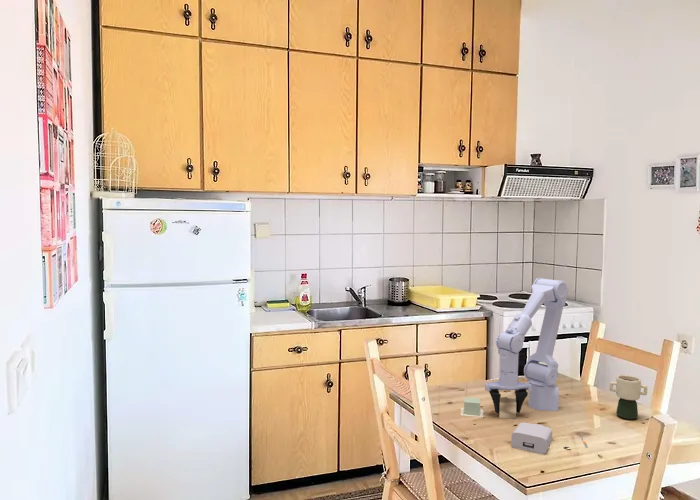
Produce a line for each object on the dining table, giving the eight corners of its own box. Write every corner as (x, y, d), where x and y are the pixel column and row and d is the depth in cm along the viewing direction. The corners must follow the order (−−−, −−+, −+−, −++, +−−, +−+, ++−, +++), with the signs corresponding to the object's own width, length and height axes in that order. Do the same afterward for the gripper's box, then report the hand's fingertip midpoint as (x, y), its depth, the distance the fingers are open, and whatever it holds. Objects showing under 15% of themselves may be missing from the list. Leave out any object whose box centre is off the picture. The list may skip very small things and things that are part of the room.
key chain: (559, 432, 164) (559, 429, 164) (585, 436, 161) (585, 433, 161) (561, 449, 152) (561, 446, 152) (590, 453, 149) (590, 450, 149)
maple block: (514, 413, 175) (515, 398, 175) (515, 419, 170) (516, 403, 170) (498, 412, 176) (499, 397, 176) (499, 417, 171) (499, 402, 171)
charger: (555, 436, 160) (545, 455, 147) (523, 430, 165) (511, 448, 152) (556, 421, 160) (546, 438, 147) (524, 414, 165) (511, 431, 152)
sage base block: (480, 410, 178) (480, 398, 177) (479, 415, 173) (480, 403, 173) (464, 408, 179) (464, 397, 179) (463, 414, 174) (464, 402, 174)
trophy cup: (644, 416, 177) (646, 376, 177) (647, 423, 171) (649, 383, 170) (607, 411, 181) (609, 373, 181) (609, 418, 175) (610, 379, 174)
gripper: (525, 366, 177) (524, 407, 178) (482, 367, 176) (481, 408, 177) (534, 372, 170) (533, 415, 171) (489, 373, 169) (488, 415, 170)
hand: (507, 412), depth 173 cm, fingers closed on maple block, 6 cm apart
